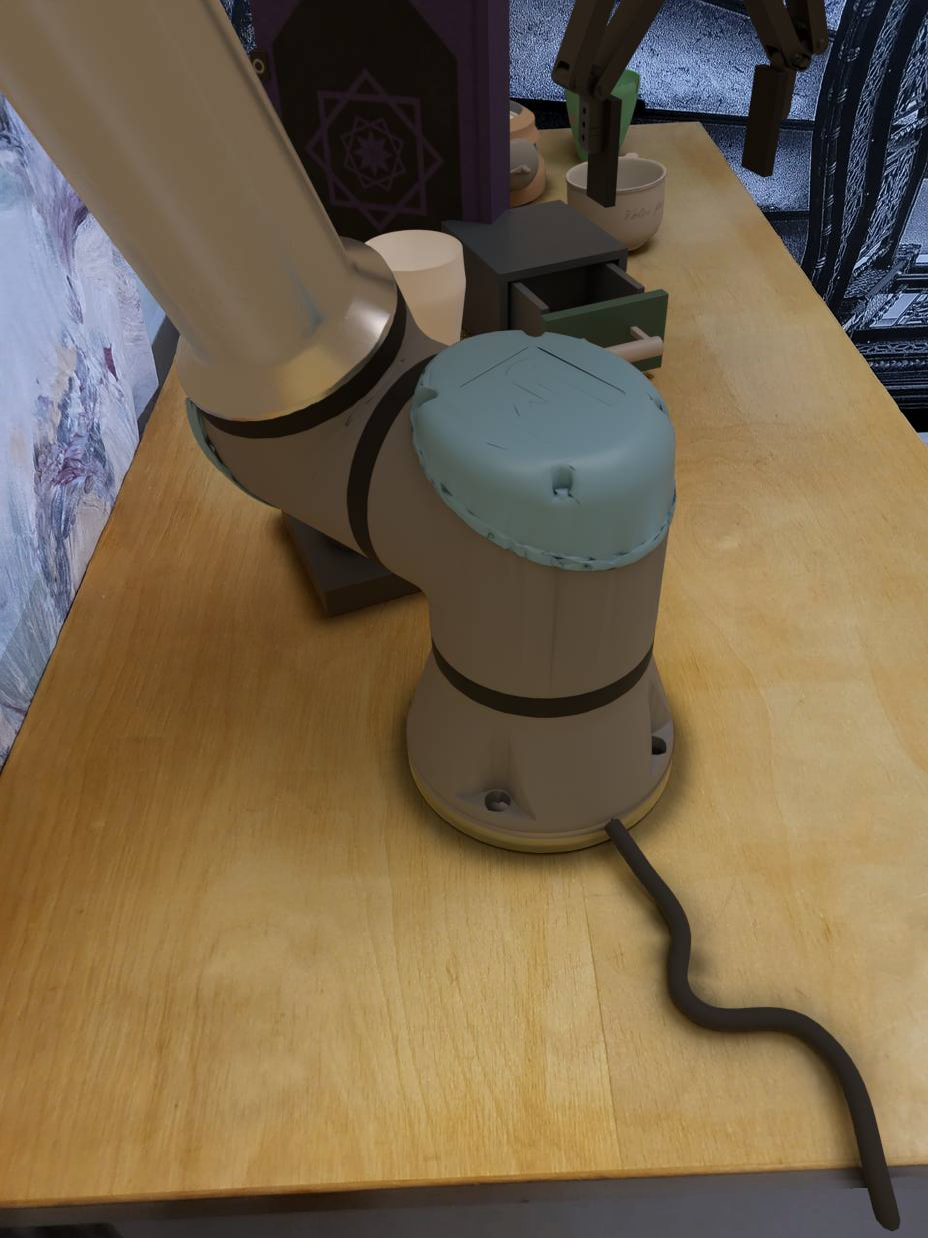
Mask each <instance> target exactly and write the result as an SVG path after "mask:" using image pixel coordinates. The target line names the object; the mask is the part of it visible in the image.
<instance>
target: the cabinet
mask: <svg viewBox="0 0 928 1238" xmlns="http://www.w3.org/2000/svg"><path fill="white" fill-rule="evenodd" d="M441 231H442V233H445V234H448V235H450V236H452V237H454V238H456V239H457V240H459V241H460V243H461V244H462V249H463V261H464V271H465V278H466V287H465V296H464V306H463V315H462V324H461V328H463V329H464V330H465V331H466V332H467V334H469V335H470V337H473V336H477V335H480V334H485V333H491V332H496V331H508V282H510V281H515V280H520V279H524V278H529V277H534V276H539V275H544V274H549V273H553V272H558V271H563V270H568V269H573V268H578V267H582V266H587V265H592V264H597V263H602V262H606V261H611V262H612V263H614V264H615V265H616V266H618V267H619V268H620V269H622V270H623V271H624V272H626V273H627V269H628V257H629V251H628V247H627V246H625V245H624V244H622V243H621V242H620V241H618V240H617V239H615V238H614V237H612V236H611V235H610V234H608V233H607V232H605V231H604V230H603V229H601V228H600V227H598V226H597V225H595V224H594V223H593V222H591V221H590V220H588V219H587V218H585V217H584V216H583V215H581V214H580V213H578V212H577V211H576V210H574V209H573V208H571V207H570V206H568V204H567V203H566V202H564V201H563V200H561V199H555V200H550V201H544V202H539V203H533V204H528V205H522V206H517V207H513V208H510V209H506V210H505V211H504V212H503V213H502V214H501V215H500V216H499V217H498V218H497V219H496V220H495V221H494V222H493V223H492V224H483V223H481V222H477V223H474V222H465V221H456V220H447V221H442V222H441Z"/></svg>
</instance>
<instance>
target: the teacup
mask: <svg viewBox="0 0 928 1238" xmlns="http://www.w3.org/2000/svg"><path fill="white" fill-rule="evenodd" d="M587 168H588V161H587V162H581V163H578V164H576V165H574V166H572V167H571V168H570V169H568V171H567V172H566V173H565V182H566V198H567V199H566V202H567V203H566V204H567V205H568V206H570V207H571V208H573V209H574V210H576V211H577V212H578V213H580V214H581V215H583V216H584V217H585V218H587V219H588V220H590V221H591V222H593V223H594V224H595V225H597V226H598V227H600V228H601V229H603V230H604V231H605V232H607V233H608V234H610V235H611V236H612V237H614V238H615V239H617V240H618V241H620V242H621V243H622V244H624V245H625V246H627V247H628V252H631V251H634V250H637V249H639V248H641V247H642V246H643V245H645V243H647V241H648V240H650V239H651V238H653V236H655V234H657V232H658V231H659V229H660V227H661V224H662V222H663V216H664V207H665V194H666V178H667V174H668V169H667V168H666V166H665V165H664V164H662V163H661V162H659V161H657V160H653V159H651V158H645V157H640V154H639V153H637V152H627V153H626V154H624V156H619V157H618V172H617V187H616V203H615V206H614V207H609V208H604V207H603V206H601V205H600V204H598V203H597V202H595V201H594V200H592V199H591V198H589V197H588V196H586V189H587Z"/></svg>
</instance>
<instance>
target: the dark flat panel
mask: <svg viewBox="0 0 928 1238" xmlns="http://www.w3.org/2000/svg"><path fill="white" fill-rule="evenodd" d="M280 512H281V516H282V521H283V523H284V526H285V528H286V530H287V532H288V534H289V537H290V539H291V541H292V543H293V545H294V547H295V549H296V551H297V554H298V556H299V557H300V560H301V562H302V564H303V566H304V568H305V570H306V573H307V574H308V576H309V579H310V581H311V583H312V584H313V587H314V589H315V591H316V593H317V595H318V598H319V599H320V602H321V604H322V607H323V608H324V610H325V612H326V615H327V616H328V618H331V617H334V616H338V615H340V614H345V613H348V612H352V611H354V610H359V609H361V608H366V607H370V606H372V605H377V604H379V603H383V602H386V601H390V600H393V599H396V598H400V597H403V596H407V595H410V594H414V593H417V592H421V591H422V590H421V589H420V588H419V587H418V586H416V585H414V584H413V583H411V582H409V581H407V580H406V579H404V578H402V577H400V576H398V575H396V574H395V573H393V572H391V571H389V570H387V569H386V568H384V567H382V566H380V565H379V564H377V563H375V562H374V561H372V560H370V559H369V558H367V557H366V556H364V555H362V554H360V553H358V552H357V551H355V550H353V549H351V548H350V547H348V546H346V545H344V544H342V543H341V542H339V541H337V540H335V539H333V538H332V537H330V536H328V535H326V534H324V533H322V532H321V531H319V530H317V529H315V528H313V527H312V526H310V525H308V524H306V523H304V522H302V521H301V520H299V519H297V518H295V517H293V516H291V515H290V514H288V513H286V512H284V511H282V510H280Z"/></svg>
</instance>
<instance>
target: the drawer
mask: <svg viewBox="0 0 928 1238" xmlns="http://www.w3.org/2000/svg"><path fill="white" fill-rule="evenodd" d="M669 295H670V293H669V292H667V291H666V290H665V289H663V288H659V289H655V290H649V291H646V287H645V285H643V284H642V283H641V282H639V281H638V280H636V279H635V278H634V277H632V276H631V275H630V274H629V273H627V272H624V271H623V270H622V269H620V268H619V267H618V266H616V265H615V264H614V263H612V262H611V261H606V262H602V263H597V264H592V265H587V266H582V267H578V268H573V269H568V270H563V271H558V272H553V273H549V274H544V275H539V276H534V277H529V278H524V279H520V280H515V281H510V282H508V331H509V330H522V331H523V332H524V333H525V334H527V335H528V336H531V337H540V336H542V335H543V334H544V333H545V332H551V333H556V334H561V335H566V336H570V337H574V338H578V339H581V340H584V341H587V342H590V343H592V344H595V345H597V346H600V347H602V348H604V349H606V350H608V351H610V352H612V353H614V354H616V355H618V356H619V357H621V358H623V359H624V360H626V361H627V362H629V363H630V364H632V365H633V366H634V367H636V368H637V369H638V370H639V371H640V372H642V373H644V372H648V371H651V370H656V369H660V368H662V363H663V353H664V344H665V333H666V325H667V316H668V307H669Z"/></svg>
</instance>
